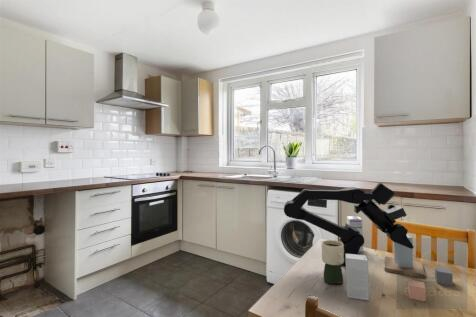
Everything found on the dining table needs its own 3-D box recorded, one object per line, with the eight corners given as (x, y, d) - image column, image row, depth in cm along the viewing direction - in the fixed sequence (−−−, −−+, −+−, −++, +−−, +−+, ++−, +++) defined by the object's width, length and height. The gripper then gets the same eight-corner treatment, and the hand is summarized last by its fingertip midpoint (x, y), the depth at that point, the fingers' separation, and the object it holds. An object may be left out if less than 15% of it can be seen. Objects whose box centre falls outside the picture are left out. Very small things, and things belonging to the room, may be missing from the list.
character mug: (353, 287, 82) (352, 247, 82) (333, 290, 81) (333, 249, 81) (332, 273, 93) (332, 237, 93) (315, 275, 91) (314, 239, 91)
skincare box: (367, 293, 78) (366, 255, 78) (369, 301, 74) (368, 260, 74) (345, 290, 80) (345, 253, 80) (346, 297, 76) (346, 258, 76)
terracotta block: (409, 298, 76) (408, 285, 76) (408, 292, 79) (408, 279, 79) (425, 302, 74) (425, 288, 74) (424, 295, 77) (423, 282, 77)
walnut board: (384, 270, 94) (384, 267, 94) (385, 259, 104) (385, 256, 104) (425, 278, 88) (425, 274, 88) (421, 265, 98) (421, 262, 98)
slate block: (399, 266, 94) (398, 237, 94) (394, 261, 98) (394, 233, 98) (412, 267, 93) (412, 237, 93) (407, 262, 97) (407, 234, 97)
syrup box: (363, 251, 113) (363, 219, 113) (349, 251, 114) (349, 218, 114) (360, 247, 118) (359, 216, 118) (346, 246, 119) (346, 215, 119)
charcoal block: (437, 283, 84) (436, 271, 84) (435, 278, 88) (434, 266, 88) (452, 286, 82) (452, 273, 82) (450, 280, 86) (449, 269, 86)
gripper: (400, 203, 87) (438, 236, 85) (382, 195, 106) (412, 222, 103) (375, 225, 89) (411, 258, 87) (362, 213, 107) (391, 241, 105)
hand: (407, 243), depth 95 cm, fingers open, 9 cm apart
